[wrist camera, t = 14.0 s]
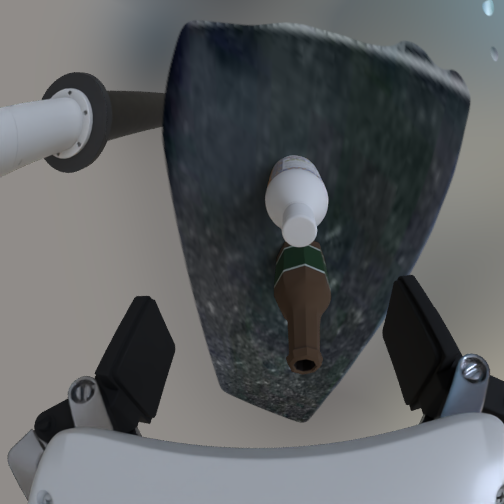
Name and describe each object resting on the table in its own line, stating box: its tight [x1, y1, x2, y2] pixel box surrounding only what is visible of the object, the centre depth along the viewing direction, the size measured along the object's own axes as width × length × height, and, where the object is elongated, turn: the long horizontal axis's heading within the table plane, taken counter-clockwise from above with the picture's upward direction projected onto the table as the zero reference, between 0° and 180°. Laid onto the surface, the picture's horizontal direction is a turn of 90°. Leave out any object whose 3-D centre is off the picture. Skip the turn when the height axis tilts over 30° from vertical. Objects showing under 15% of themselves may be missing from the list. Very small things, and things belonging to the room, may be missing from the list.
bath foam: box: [265, 156, 328, 247], centre depth 31 cm, size 7×7×20 cm
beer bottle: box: [274, 241, 331, 374], centre depth 35 cm, size 8×8×24 cm
